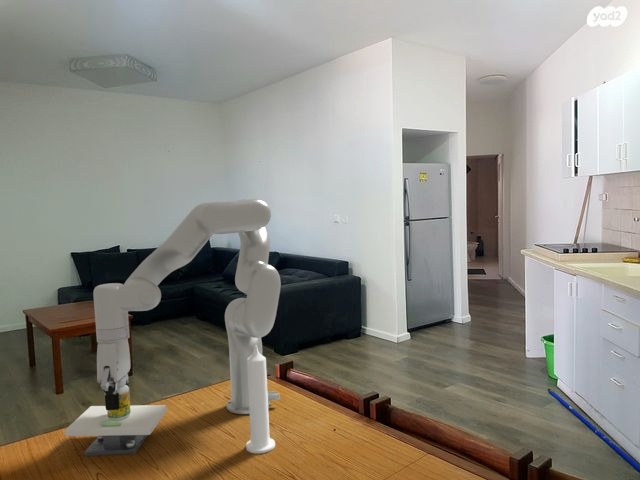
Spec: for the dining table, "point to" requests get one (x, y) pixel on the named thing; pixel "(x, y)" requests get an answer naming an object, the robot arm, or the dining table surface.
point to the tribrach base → (115, 445)
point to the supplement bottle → (121, 401)
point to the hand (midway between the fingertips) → (118, 403)
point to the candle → (258, 405)
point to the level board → (117, 421)
